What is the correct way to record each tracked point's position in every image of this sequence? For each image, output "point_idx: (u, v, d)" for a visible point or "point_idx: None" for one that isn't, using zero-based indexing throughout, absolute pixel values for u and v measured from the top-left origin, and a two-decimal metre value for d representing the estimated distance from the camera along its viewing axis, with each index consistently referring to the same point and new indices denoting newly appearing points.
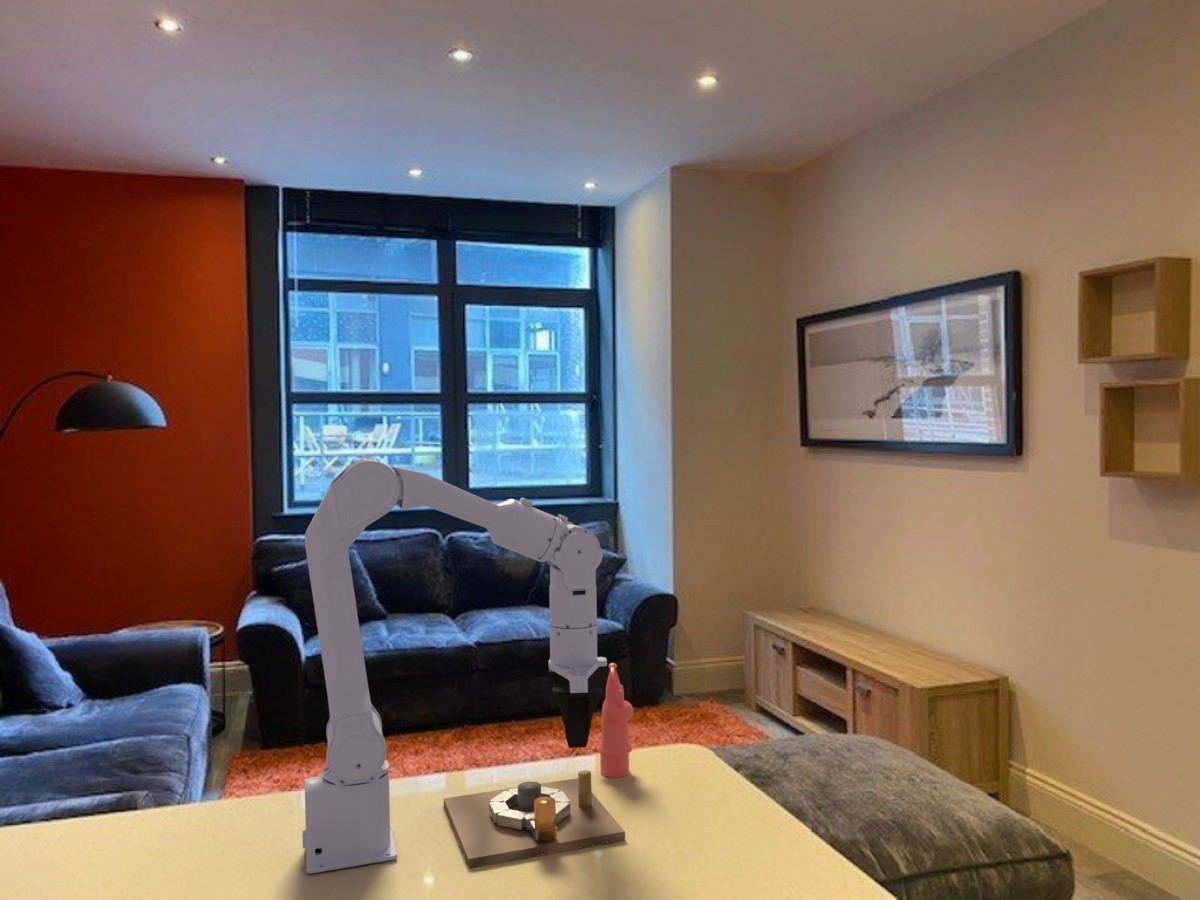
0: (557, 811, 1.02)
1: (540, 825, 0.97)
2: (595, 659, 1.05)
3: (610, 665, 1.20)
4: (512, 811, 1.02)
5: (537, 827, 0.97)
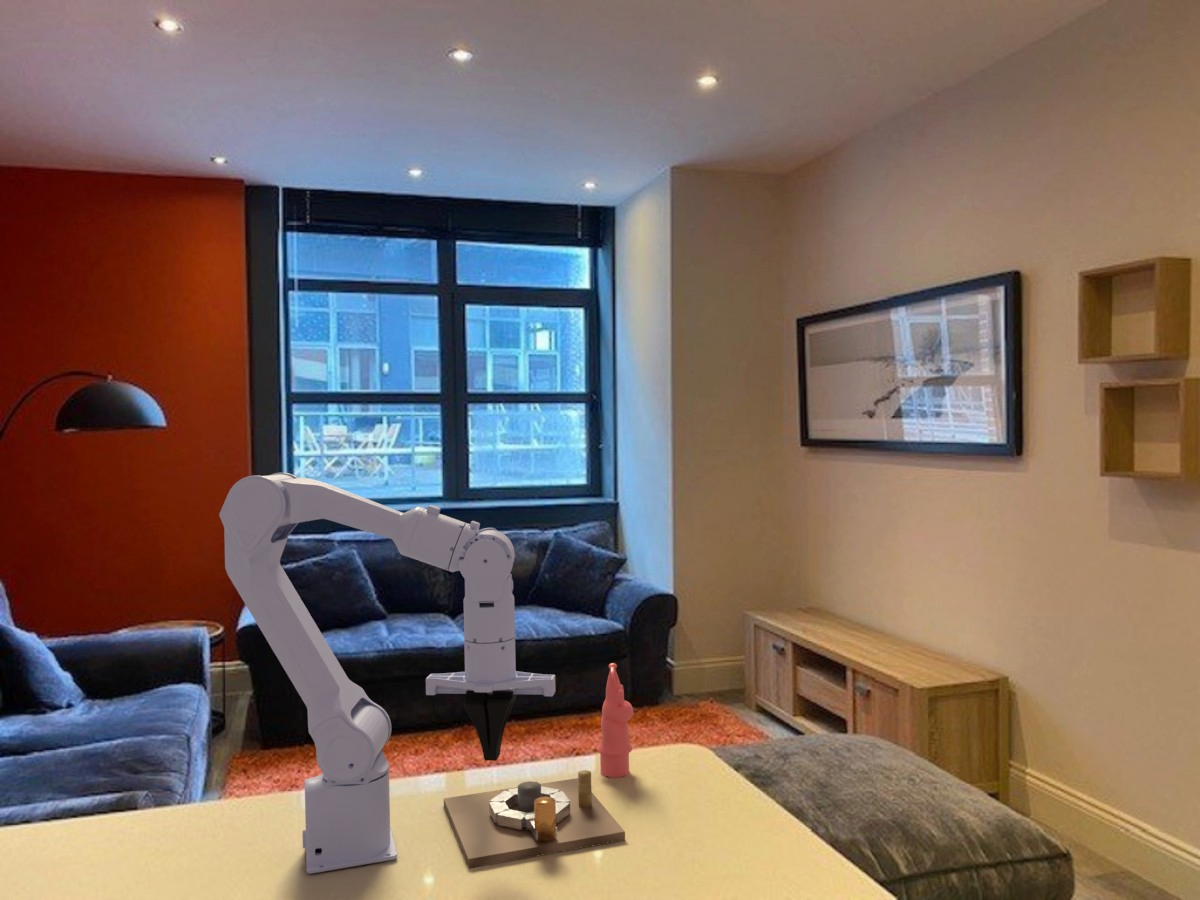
0: (557, 811, 1.02)
1: (540, 825, 0.97)
2: (473, 679, 0.96)
3: (610, 665, 1.20)
4: (512, 811, 1.02)
5: (537, 827, 0.97)
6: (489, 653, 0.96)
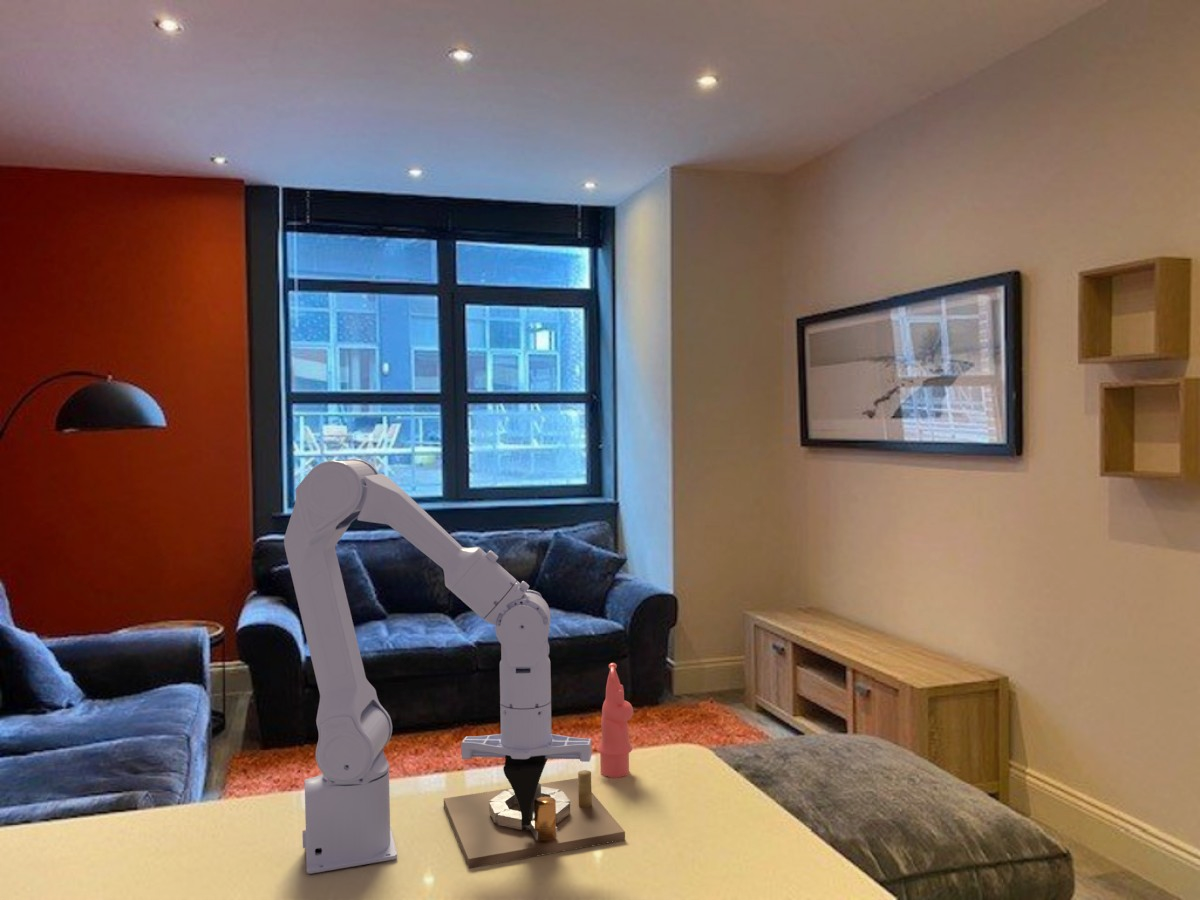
0: (557, 811, 1.02)
1: (540, 825, 0.97)
2: (510, 745, 0.96)
3: (610, 665, 1.20)
4: (512, 812, 1.02)
5: (537, 827, 0.97)
6: (526, 719, 0.95)
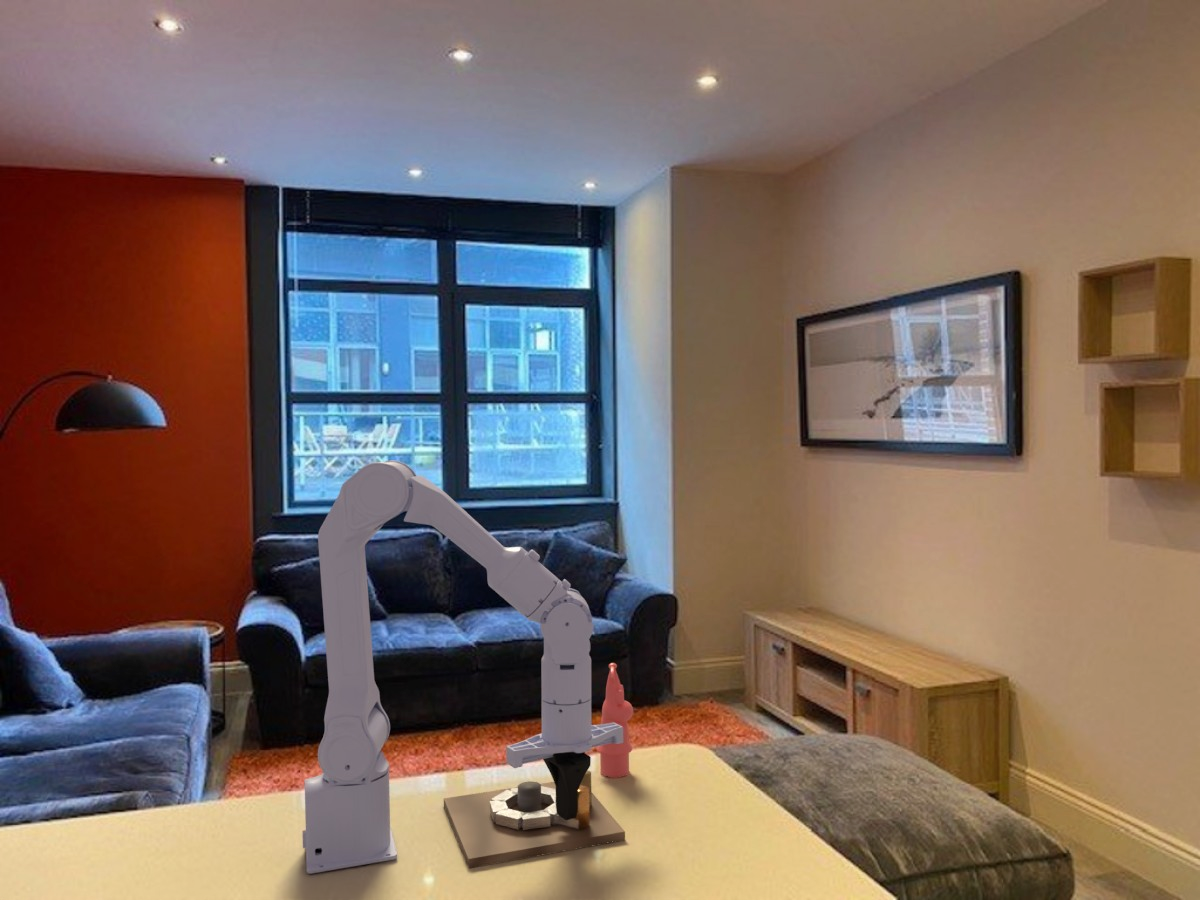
0: None
1: (582, 812, 1.00)
2: (568, 741, 0.97)
3: (610, 665, 1.20)
4: (530, 813, 1.01)
5: (578, 816, 1.00)
6: (583, 712, 0.98)
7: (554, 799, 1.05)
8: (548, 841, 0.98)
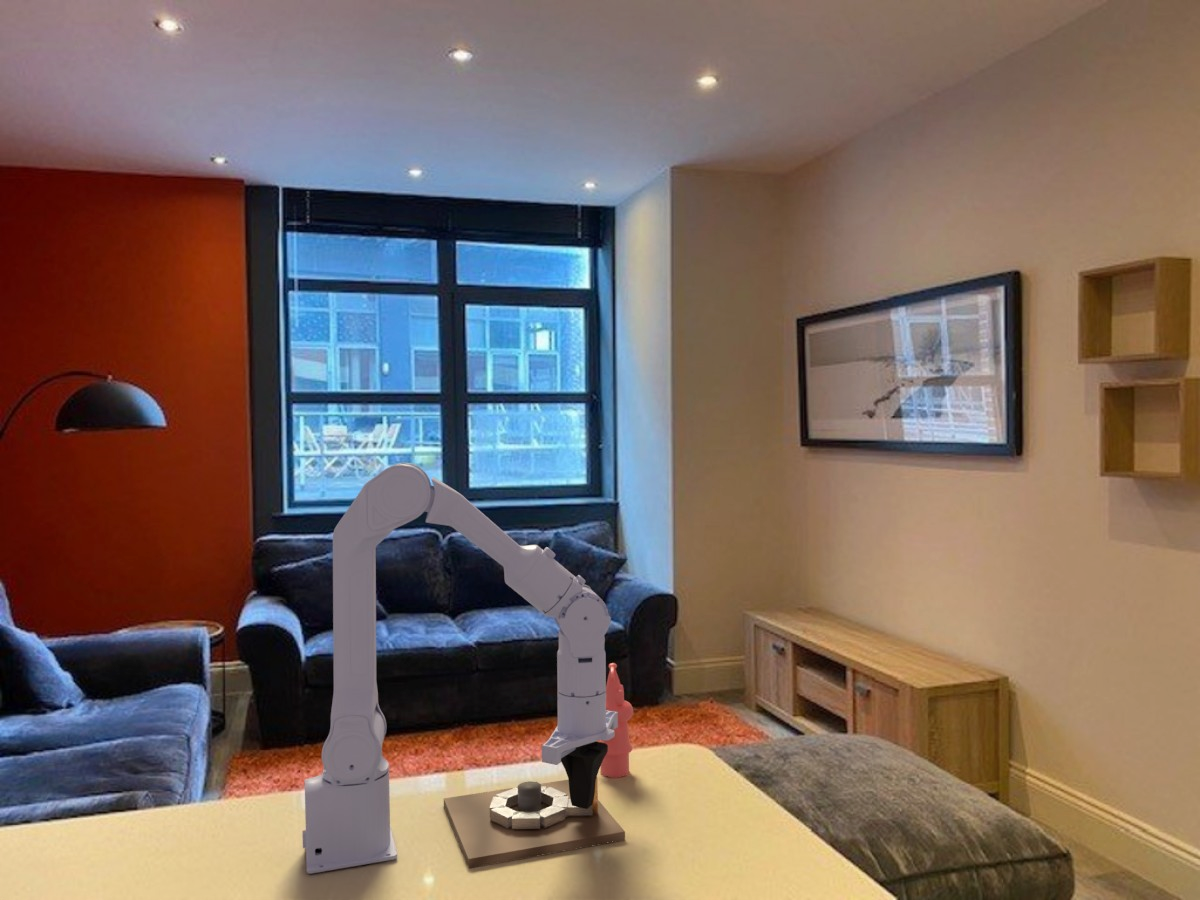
0: (563, 793, 1.07)
1: (595, 798, 1.04)
2: (595, 731, 1.00)
3: (610, 665, 1.20)
4: (544, 810, 1.02)
5: None
6: (604, 701, 1.02)
7: (549, 794, 1.07)
8: (548, 841, 0.98)
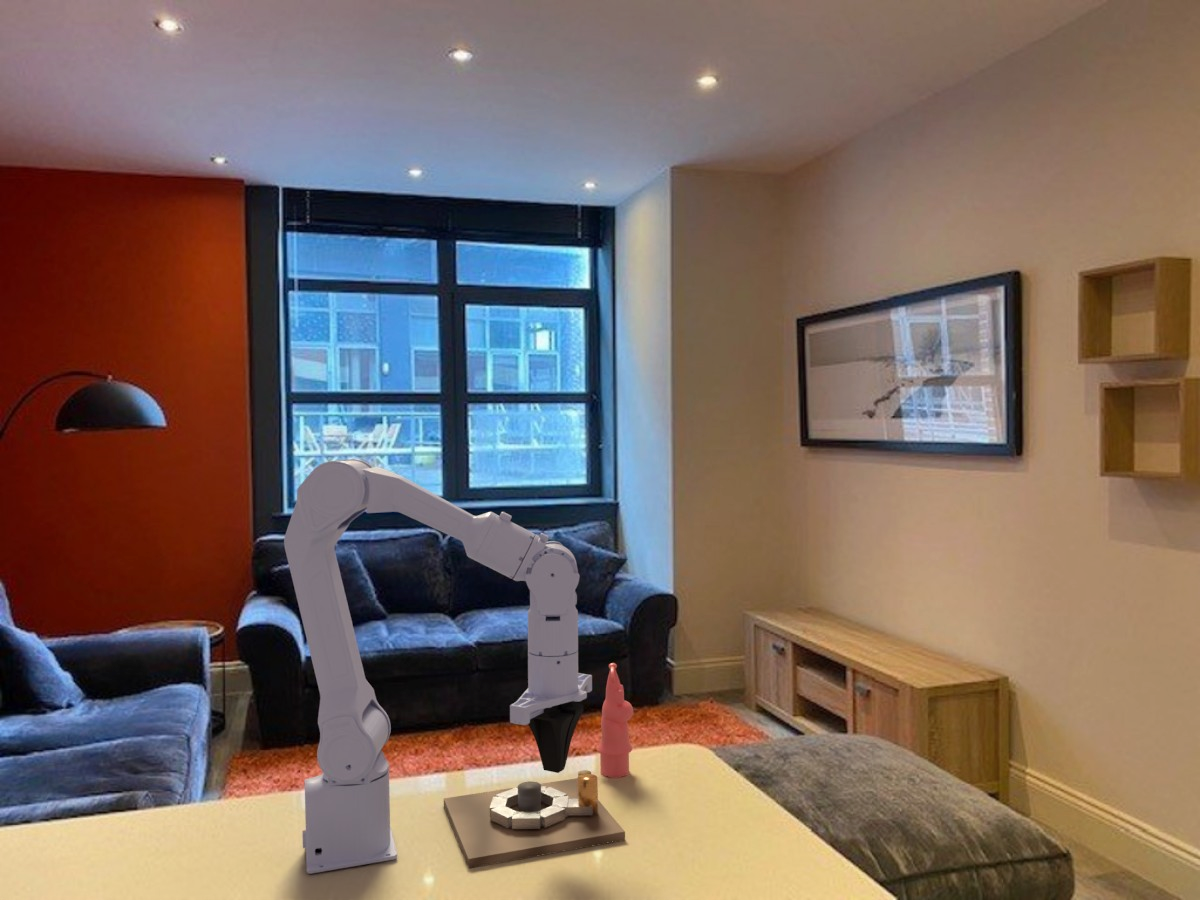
0: (562, 793, 1.07)
1: (595, 798, 1.04)
2: (566, 692, 0.97)
3: (610, 665, 1.20)
4: (544, 810, 1.02)
5: (592, 802, 1.04)
6: (576, 661, 0.98)
7: (549, 794, 1.07)
8: (548, 841, 0.98)
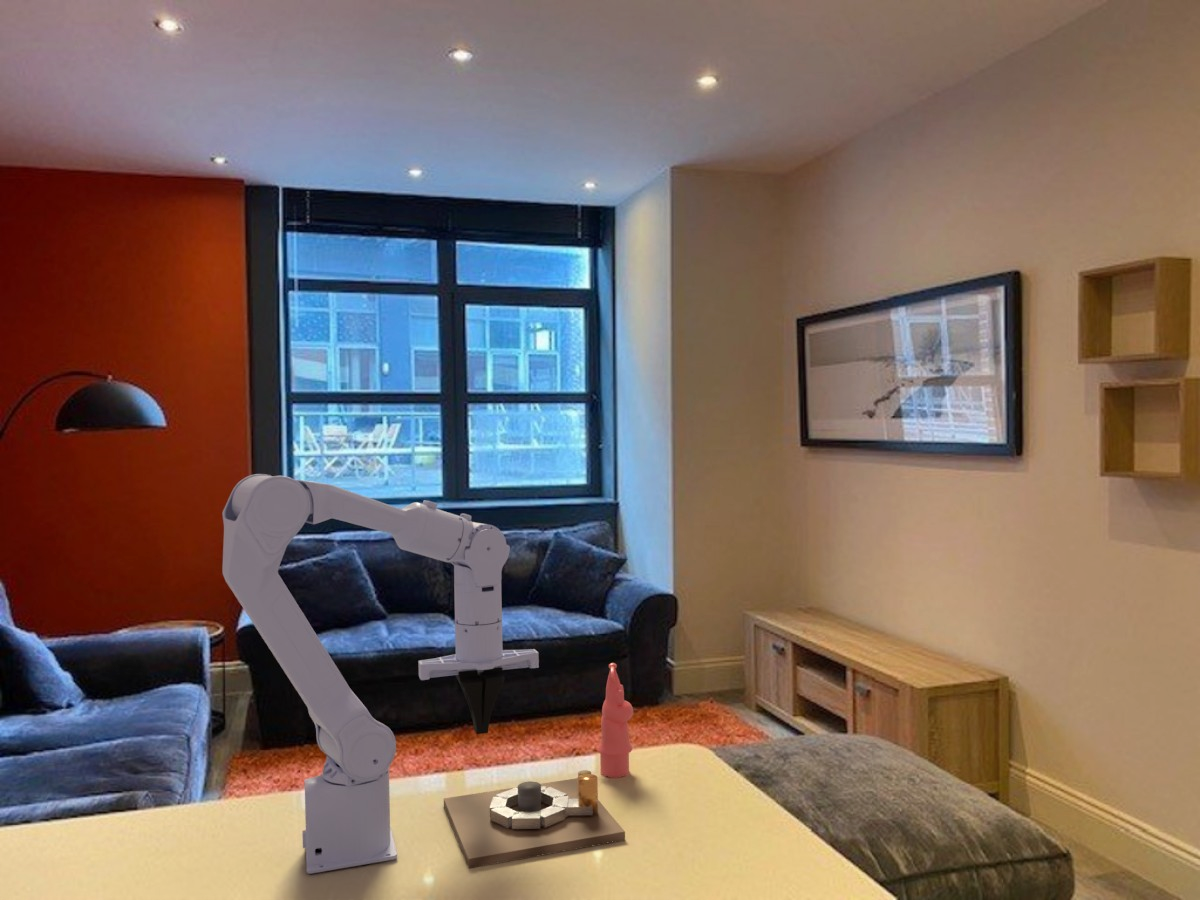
0: (562, 793, 1.07)
1: (595, 798, 1.04)
2: (472, 659, 1.04)
3: (610, 665, 1.20)
4: (544, 810, 1.02)
5: (592, 802, 1.04)
6: (488, 633, 1.04)
7: (549, 794, 1.07)
8: (548, 841, 0.98)
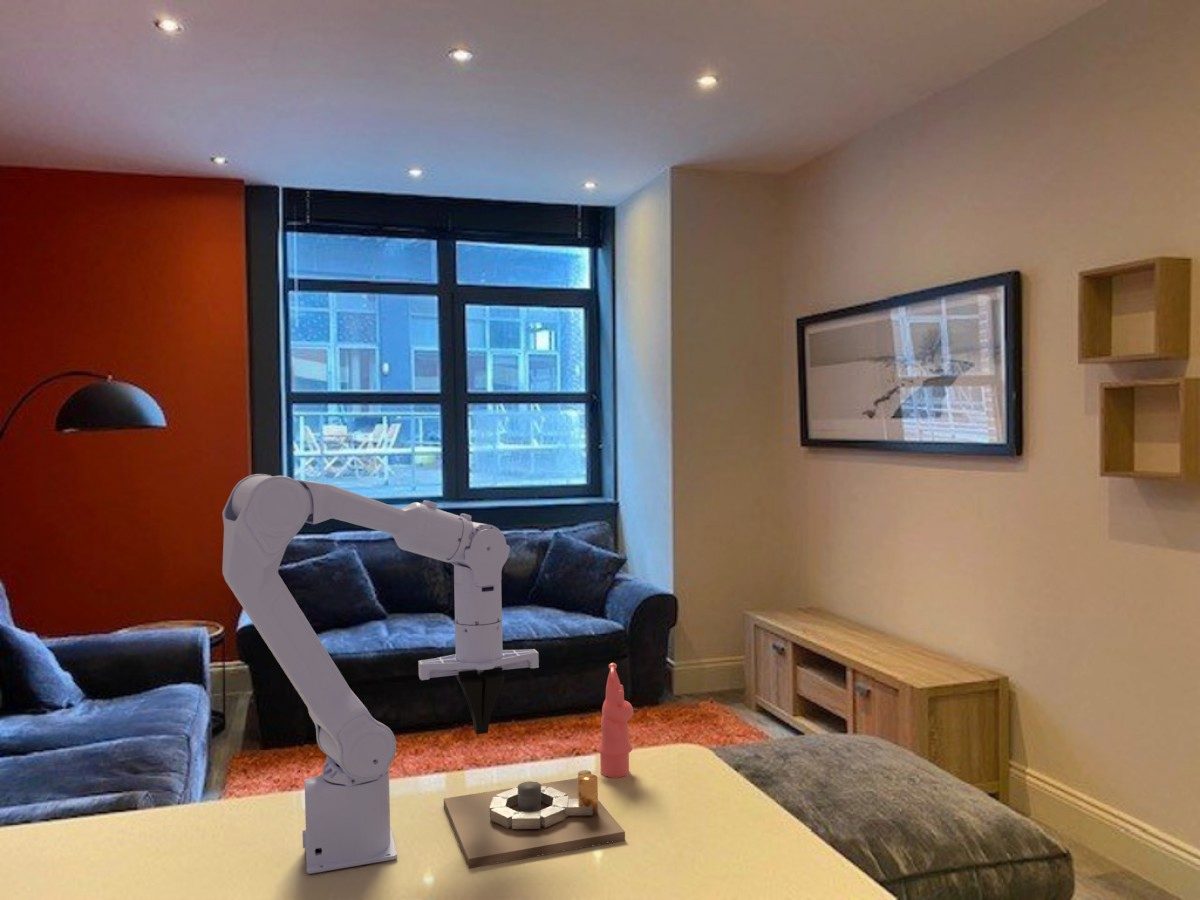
0: (562, 793, 1.07)
1: (595, 798, 1.04)
2: (472, 659, 1.04)
3: (610, 665, 1.20)
4: (544, 810, 1.02)
5: (592, 802, 1.04)
6: (488, 633, 1.04)
7: (549, 794, 1.07)
8: (548, 841, 0.98)
